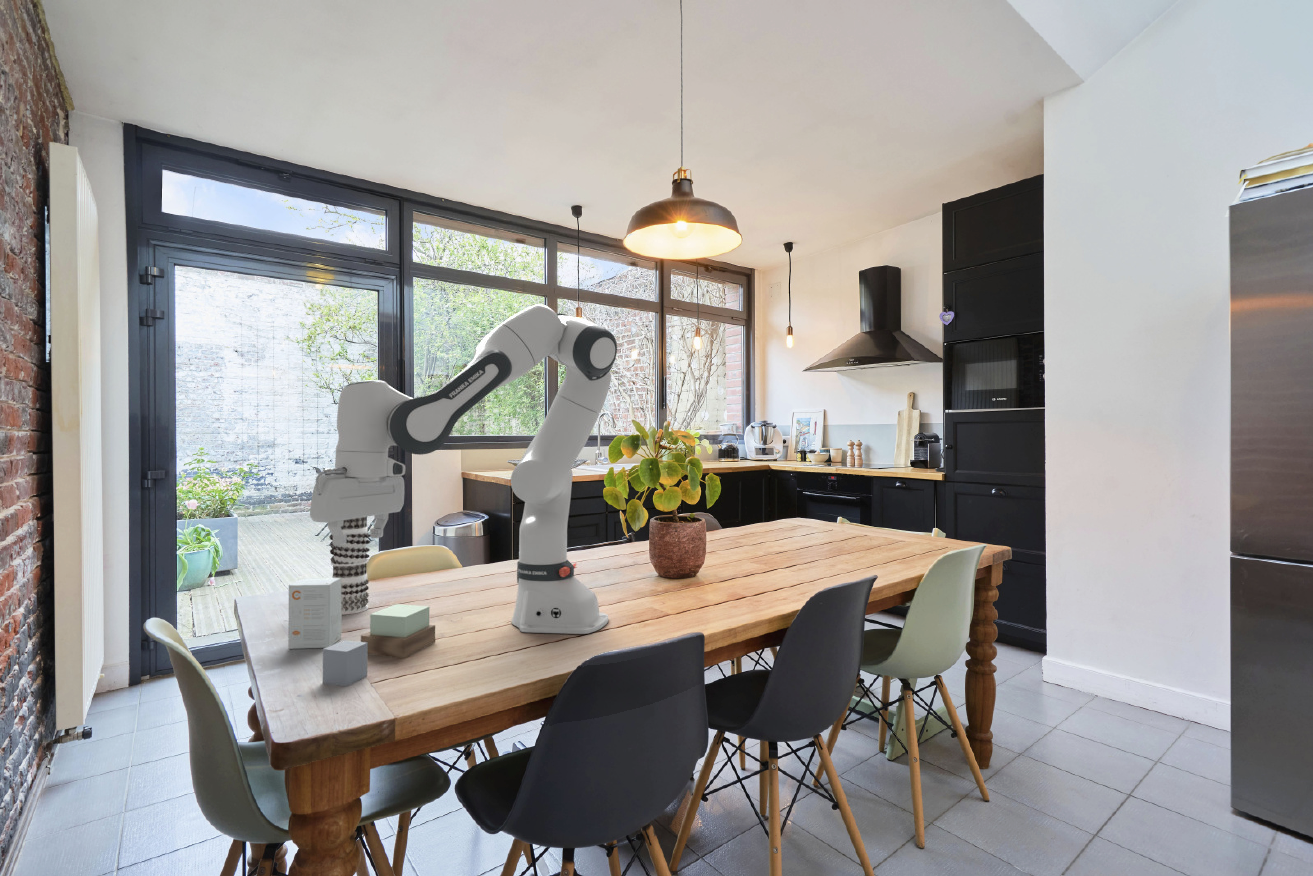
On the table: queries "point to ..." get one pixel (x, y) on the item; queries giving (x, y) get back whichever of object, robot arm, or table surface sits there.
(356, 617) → the table surface
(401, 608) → the tower top
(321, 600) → the small box
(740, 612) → the table surface
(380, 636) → the tower base
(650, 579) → the table surface
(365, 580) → the decorative candle
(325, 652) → the block
